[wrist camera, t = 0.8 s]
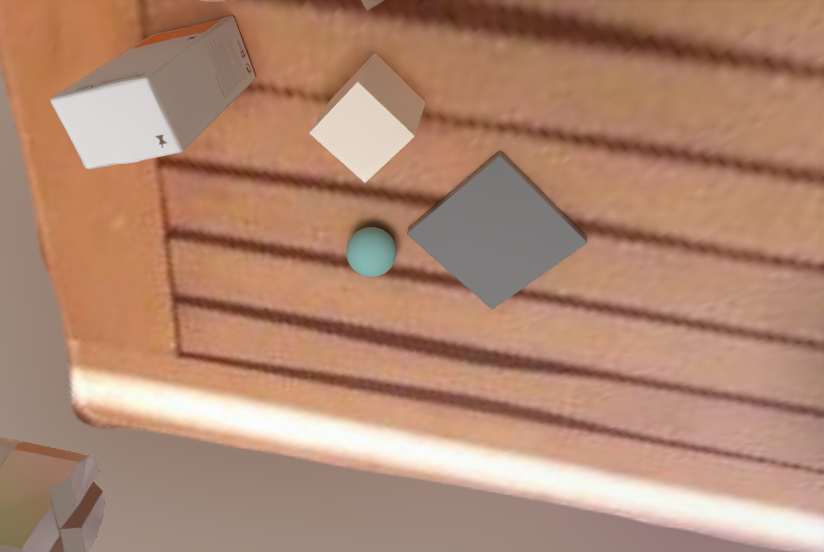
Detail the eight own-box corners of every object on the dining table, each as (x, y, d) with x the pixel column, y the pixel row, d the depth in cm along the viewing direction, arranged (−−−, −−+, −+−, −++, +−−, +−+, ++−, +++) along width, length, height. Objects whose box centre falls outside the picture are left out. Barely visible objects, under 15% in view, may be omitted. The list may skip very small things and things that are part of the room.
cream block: (374, 52, 44) (357, 81, 39) (425, 102, 45) (414, 136, 41) (330, 99, 46) (309, 132, 42) (380, 146, 47) (365, 182, 43)
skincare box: (234, 11, 43) (149, 75, 34) (258, 77, 46) (185, 155, 36) (149, 32, 45) (45, 98, 35) (177, 95, 47) (86, 173, 37)
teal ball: (373, 208, 50) (364, 234, 47) (409, 240, 51) (402, 267, 48) (342, 237, 52) (331, 263, 49) (377, 267, 53) (368, 295, 50)
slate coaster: (500, 150, 46) (499, 155, 46) (586, 236, 49) (587, 242, 48) (408, 228, 51) (406, 233, 50) (492, 303, 54) (492, 309, 53)
